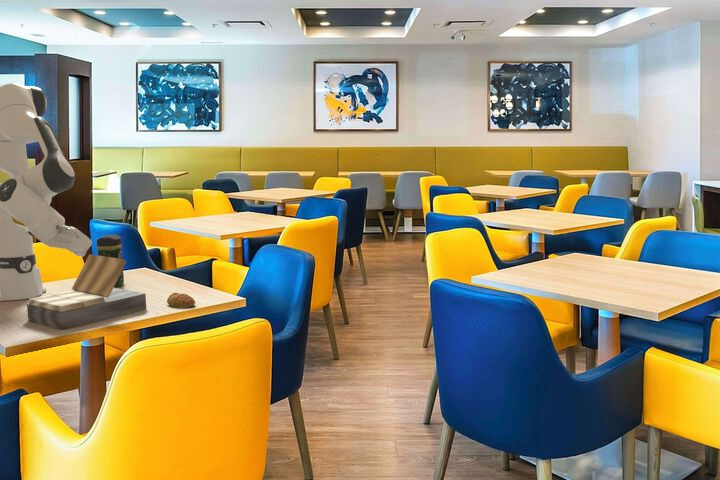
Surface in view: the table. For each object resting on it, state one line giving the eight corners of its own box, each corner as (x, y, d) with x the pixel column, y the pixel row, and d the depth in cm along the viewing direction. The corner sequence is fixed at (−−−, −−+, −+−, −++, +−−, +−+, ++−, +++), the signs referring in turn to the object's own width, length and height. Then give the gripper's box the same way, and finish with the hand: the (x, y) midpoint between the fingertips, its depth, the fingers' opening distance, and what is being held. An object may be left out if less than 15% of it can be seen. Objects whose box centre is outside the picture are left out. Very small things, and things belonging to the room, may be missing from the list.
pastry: (201, 305, 219) (200, 293, 219) (184, 310, 214) (183, 298, 213) (181, 302, 225) (180, 290, 224) (164, 306, 219) (163, 294, 219)
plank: (75, 291, 214) (71, 288, 213) (93, 256, 218) (89, 254, 217) (108, 297, 204) (104, 295, 203) (126, 261, 208) (122, 259, 207)
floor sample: (28, 320, 203) (26, 299, 202) (111, 302, 225) (110, 282, 224) (62, 330, 192) (60, 306, 191) (146, 309, 214) (145, 288, 214)
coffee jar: (119, 288, 247) (115, 236, 244) (96, 288, 246) (92, 237, 244) (127, 282, 256) (123, 232, 253) (105, 283, 256) (101, 233, 253)
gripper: (75, 218, 191) (109, 248, 201) (36, 215, 203) (69, 243, 213) (61, 236, 188) (96, 266, 198) (22, 231, 200) (57, 260, 210)
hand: (82, 254), depth 205 cm, fingers closed
